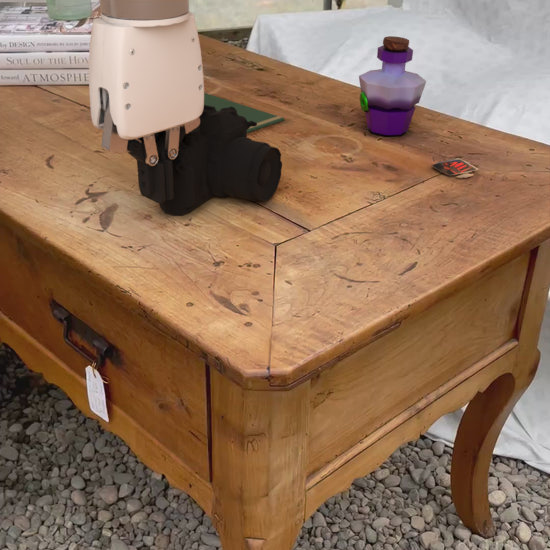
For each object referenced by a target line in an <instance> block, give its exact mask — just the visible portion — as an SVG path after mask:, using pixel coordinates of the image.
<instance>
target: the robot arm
mask: <svg viewBox="0 0 550 550" xmlns="http://www.w3.org/2000/svg"><path fill="white" fill-rule="evenodd" d="M99 8H100V17H97V18H93V20H92V24H91V31H90V39H89V51H88V91H89V107H90V108H89V109H90V118H91V122H92V125H93V127H95V128H96V129H99V130H102V136H101V148H102V149H103V150H105V151H107V152H109V153H112V154H128V155H130V157H131V158H132V159H134V160H136V167H137V168H136V169H137V180H138V189H139V192H140V195H141V196H142V197H144V198H146V199H148V200H150V201H153V202H155V203H157V204H158V205H160V203H163V202H165V200H171V199H173V198H174V193H173V164H172V159H175V158H176V157H177V155H178V148H179V144H180V143H181V141H182V139H183V138H184V136H185V134H188V133H189V132H191V131H192V130H194V129H195V128H197V127H198V126H199V125H200V117H199V116H200V115H201V114H202V112H203V108H204V93H205V81H204V80H205V79H204V77H205V75H204V68H203V58H202V51H201V50H202V49H201V43H200V37H199V32H198V27H197V23H196V19H195V15H194V13H193V12H191V11H190V0H99Z"/></svg>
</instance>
